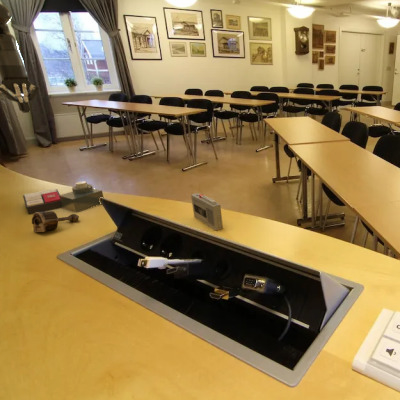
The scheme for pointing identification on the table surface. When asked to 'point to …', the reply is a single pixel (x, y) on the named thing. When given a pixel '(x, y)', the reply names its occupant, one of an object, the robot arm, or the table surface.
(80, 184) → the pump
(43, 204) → the dark box with panels
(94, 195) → the olive block with knob
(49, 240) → the table surface
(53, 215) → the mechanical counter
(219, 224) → the cassette player
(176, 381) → the table surface
